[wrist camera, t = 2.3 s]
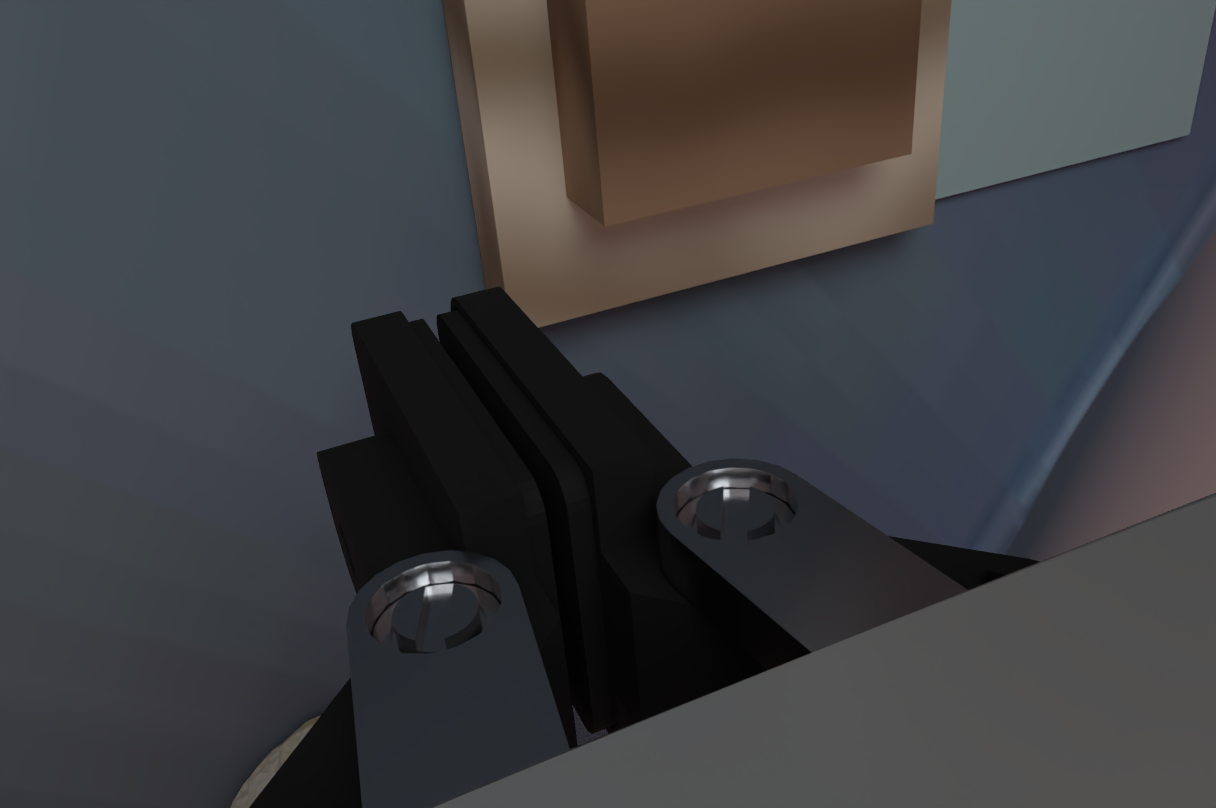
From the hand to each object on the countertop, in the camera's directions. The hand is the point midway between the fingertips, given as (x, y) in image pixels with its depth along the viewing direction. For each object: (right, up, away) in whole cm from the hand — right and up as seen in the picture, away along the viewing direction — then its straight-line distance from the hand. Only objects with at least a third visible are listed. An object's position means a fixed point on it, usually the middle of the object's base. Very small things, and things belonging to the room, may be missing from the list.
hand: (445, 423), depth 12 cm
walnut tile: (+5, +10, +15) cm, 19 cm away
